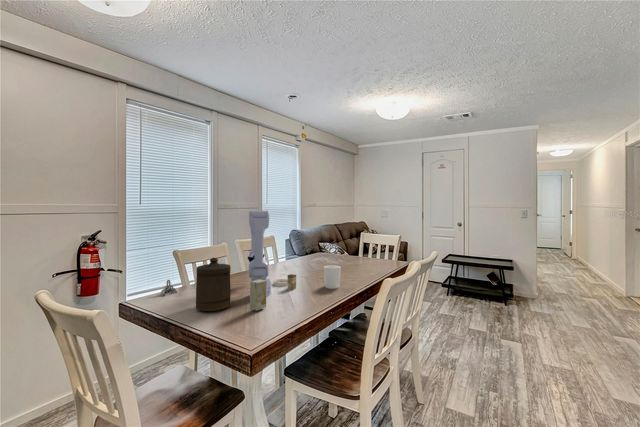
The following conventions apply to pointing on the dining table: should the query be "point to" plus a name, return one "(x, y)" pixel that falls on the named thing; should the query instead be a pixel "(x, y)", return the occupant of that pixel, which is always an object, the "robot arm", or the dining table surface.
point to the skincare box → (257, 294)
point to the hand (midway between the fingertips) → (256, 267)
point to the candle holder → (332, 276)
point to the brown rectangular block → (291, 281)
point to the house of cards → (168, 290)
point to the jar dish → (280, 282)
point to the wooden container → (213, 286)
